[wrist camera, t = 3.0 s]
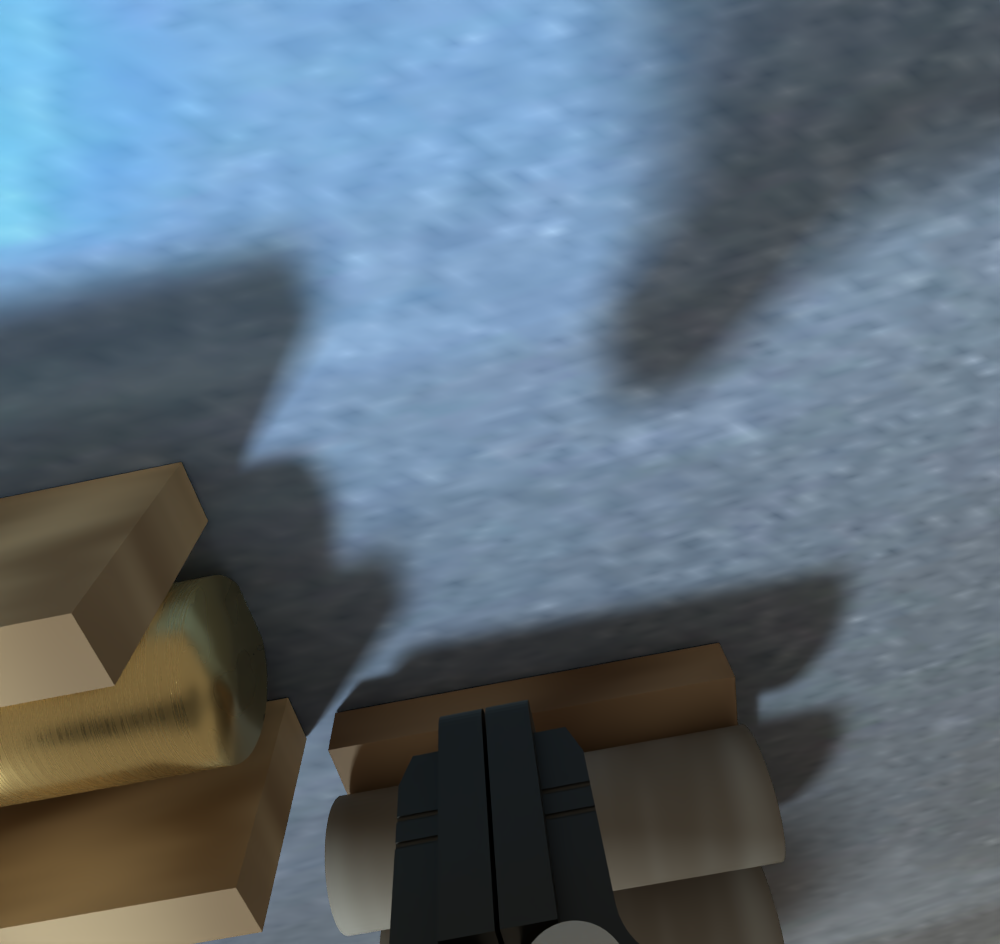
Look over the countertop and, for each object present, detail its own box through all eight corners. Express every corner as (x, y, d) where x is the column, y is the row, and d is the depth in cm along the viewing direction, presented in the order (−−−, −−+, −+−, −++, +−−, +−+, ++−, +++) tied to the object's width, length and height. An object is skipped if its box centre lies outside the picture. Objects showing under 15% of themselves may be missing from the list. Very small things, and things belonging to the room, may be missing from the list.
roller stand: (719, 642, 19) (784, 781, 15) (733, 861, 23) (787, 1012, 19) (335, 713, 19) (305, 865, 15) (419, 914, 23) (412, 1072, 20)
